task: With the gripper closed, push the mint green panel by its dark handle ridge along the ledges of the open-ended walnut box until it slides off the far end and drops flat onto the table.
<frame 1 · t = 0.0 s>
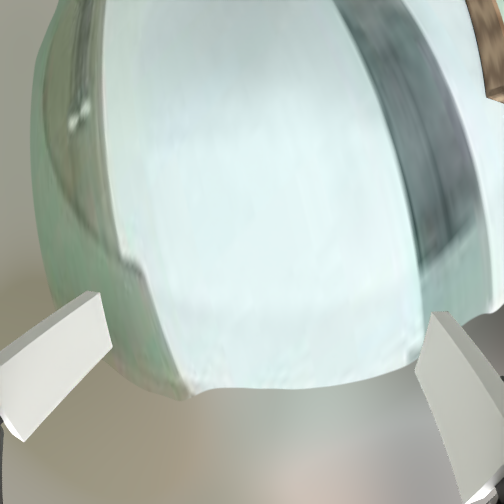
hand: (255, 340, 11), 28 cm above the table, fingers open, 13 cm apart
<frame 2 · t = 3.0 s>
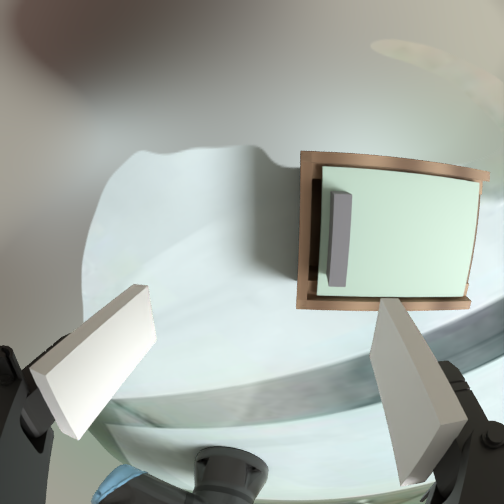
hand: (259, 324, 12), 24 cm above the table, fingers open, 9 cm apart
box: (383, 224, 32), on the table
mint green panel: (403, 235, 27), point 6 cm above the table, touching box
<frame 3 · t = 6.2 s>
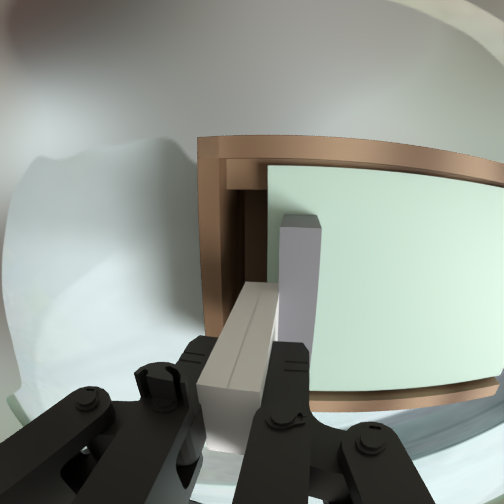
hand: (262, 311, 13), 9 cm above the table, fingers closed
box: (373, 259, 20), on the table
mint green panel: (422, 292, 14), point 6 cm above the table, touching box, gripper
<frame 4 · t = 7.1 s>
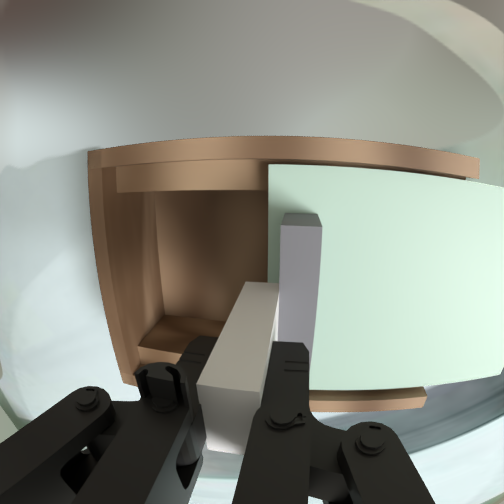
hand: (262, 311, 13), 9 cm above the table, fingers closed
box: (282, 256, 21), on the table
mint green panel: (422, 291, 14), point 6 cm above the table
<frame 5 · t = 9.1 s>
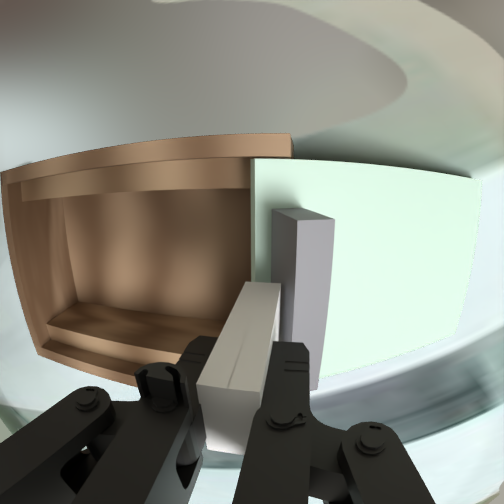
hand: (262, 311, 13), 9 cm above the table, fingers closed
box: (159, 250, 22), on the table
mint green panel: (388, 271, 17), point 3 cm above the table, tilted 23°, touching gripper
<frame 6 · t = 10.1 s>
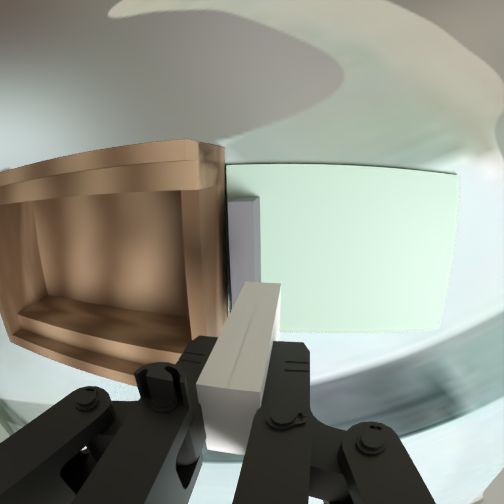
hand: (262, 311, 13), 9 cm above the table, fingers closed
box: (111, 248, 23), on the table
mint green panel: (348, 252, 21), on the table
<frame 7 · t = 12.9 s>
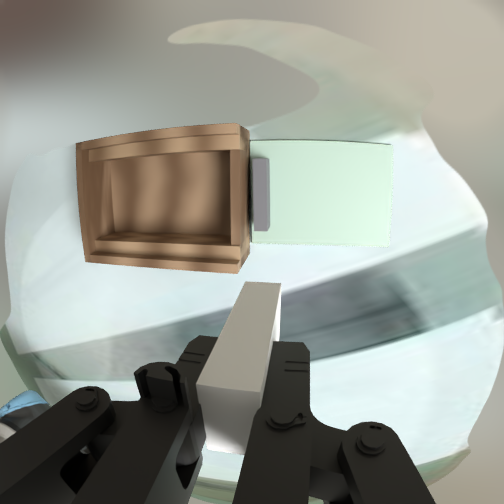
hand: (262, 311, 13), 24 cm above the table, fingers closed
box: (172, 193, 37), on the table
mint green panel: (322, 192, 34), on the table
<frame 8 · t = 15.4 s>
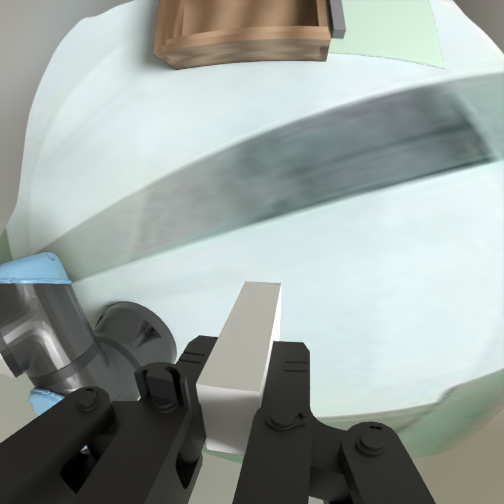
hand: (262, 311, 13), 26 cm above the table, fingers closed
box: (248, 16, 31), on the table
mint green panel: (382, 22, 28), on the table
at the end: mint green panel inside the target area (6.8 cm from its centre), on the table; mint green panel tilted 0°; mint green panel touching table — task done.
